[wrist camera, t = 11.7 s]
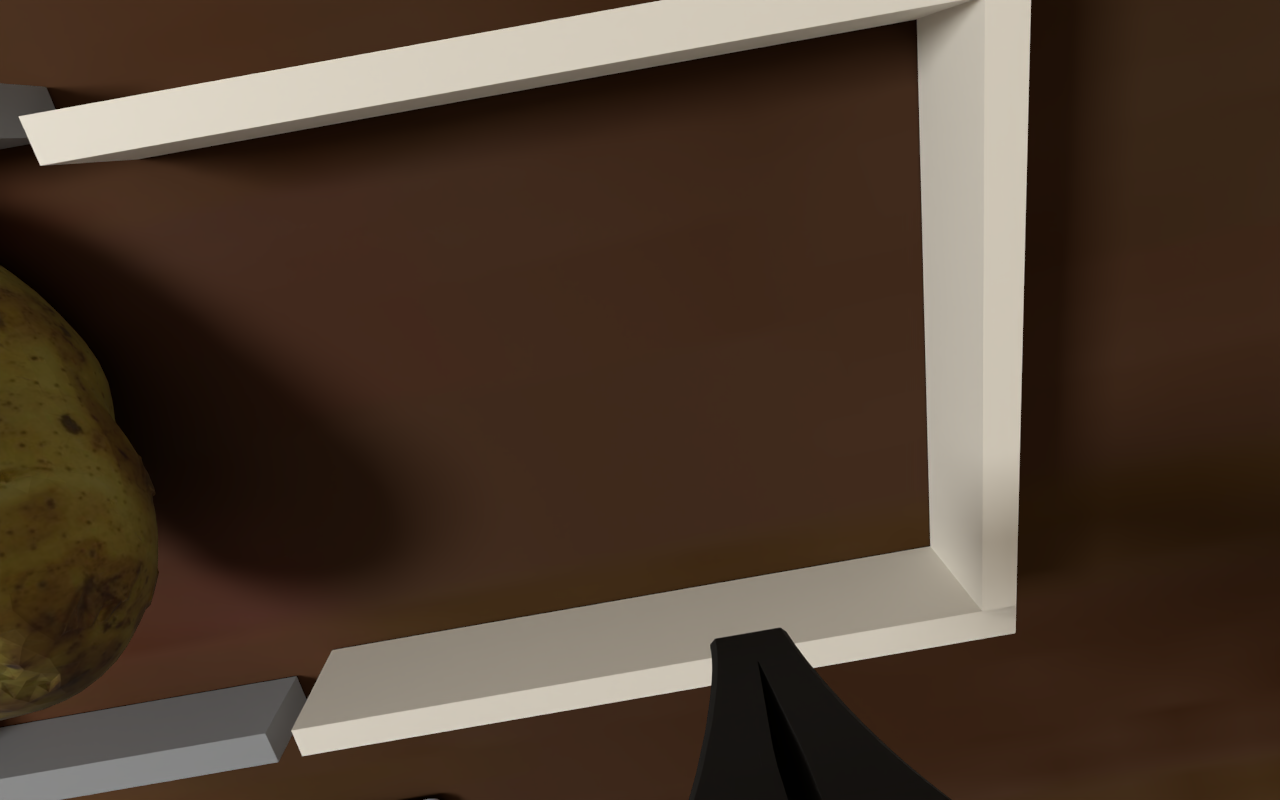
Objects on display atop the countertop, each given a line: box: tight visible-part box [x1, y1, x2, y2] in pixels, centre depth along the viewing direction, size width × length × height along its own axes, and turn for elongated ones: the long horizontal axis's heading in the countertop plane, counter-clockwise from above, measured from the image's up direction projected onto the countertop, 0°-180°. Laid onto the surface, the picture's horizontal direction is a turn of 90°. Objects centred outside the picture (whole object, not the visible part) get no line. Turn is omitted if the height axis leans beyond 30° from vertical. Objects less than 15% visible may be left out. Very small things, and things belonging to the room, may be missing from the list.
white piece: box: [18, 0, 1031, 756], centre depth 20 cm, size 18×22×4 cm
